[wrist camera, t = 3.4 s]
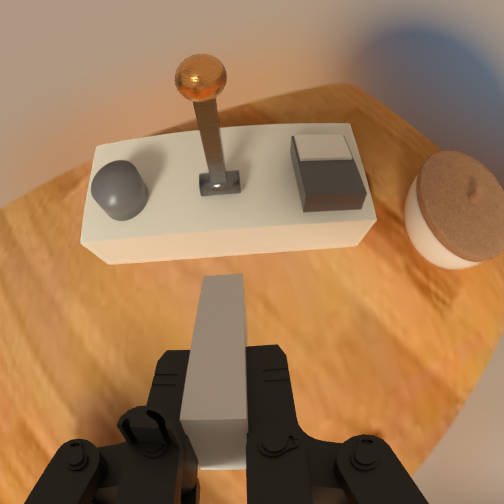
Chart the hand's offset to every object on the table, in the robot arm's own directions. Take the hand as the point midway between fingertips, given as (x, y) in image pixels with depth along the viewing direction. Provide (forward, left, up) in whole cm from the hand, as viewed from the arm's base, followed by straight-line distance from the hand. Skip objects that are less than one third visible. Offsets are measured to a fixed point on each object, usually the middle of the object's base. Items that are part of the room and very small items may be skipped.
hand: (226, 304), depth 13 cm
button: (-14, +1, -9) cm, 17 cm away
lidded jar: (+9, +20, -16) cm, 27 cm away
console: (-9, +8, -15) cm, 20 cm away
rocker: (-3, +13, -8) cm, 15 cm away
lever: (-8, +7, -8) cm, 14 cm away
